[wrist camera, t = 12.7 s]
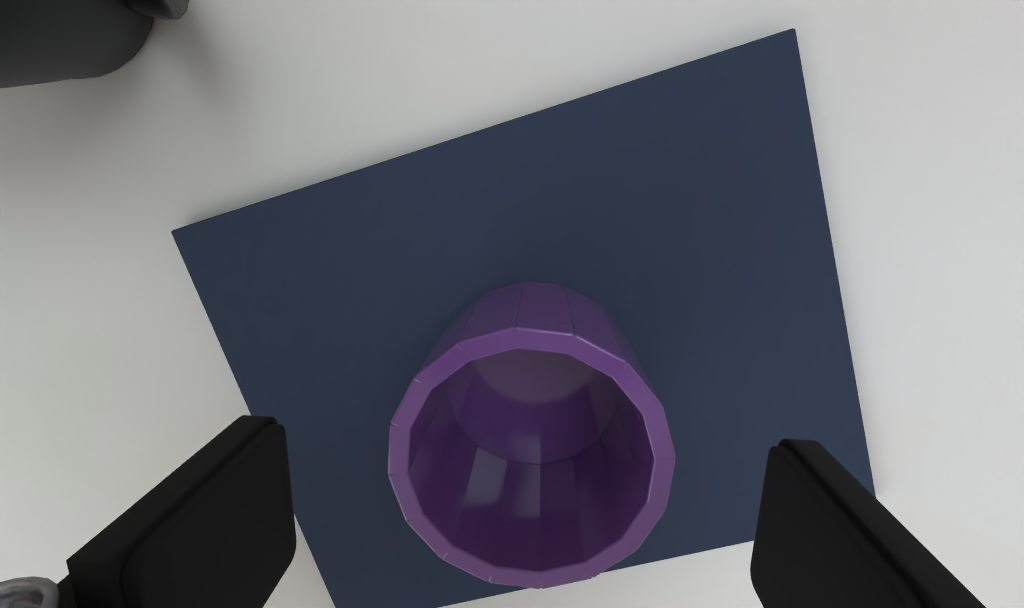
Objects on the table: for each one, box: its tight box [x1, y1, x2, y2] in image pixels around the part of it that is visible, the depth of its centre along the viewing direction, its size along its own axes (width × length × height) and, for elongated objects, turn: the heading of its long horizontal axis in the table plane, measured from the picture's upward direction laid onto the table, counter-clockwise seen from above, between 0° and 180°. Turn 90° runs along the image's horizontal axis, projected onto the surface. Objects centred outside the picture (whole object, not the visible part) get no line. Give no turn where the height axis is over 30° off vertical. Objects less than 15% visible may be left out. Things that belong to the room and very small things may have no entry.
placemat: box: [171, 28, 876, 608], centre depth 18 cm, size 20×16×1 cm
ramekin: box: [388, 281, 676, 589], centre depth 15 cm, size 7×7×6 cm
